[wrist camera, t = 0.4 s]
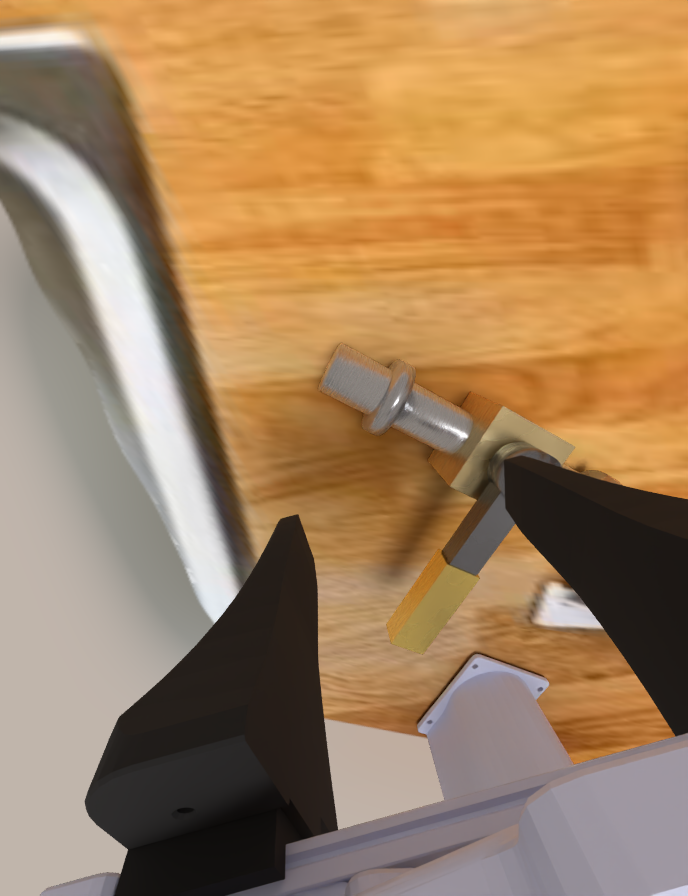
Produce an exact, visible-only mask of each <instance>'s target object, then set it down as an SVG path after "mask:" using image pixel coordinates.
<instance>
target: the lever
mask: <svg viewBox="0 0 688 896" xmlns="http://www.w3.org/2000/svg"><path fill="white" fill-rule="evenodd" d="M520 455H522V456H526V457H530V458H534V459H537V460H540V461H543V462H546V463H549V464H553V465H556V466H559V467H562V465H561V464H560V462H559V461H558V460H557V459H556V458H554V457H553V456H551V455H549V454H547V453H546V452H544V451H542V450H540V449H538V448H536V447H535V446H533V445H531V444H529V443H526V442H513V443H510V444H507V445H505V446H503V447H502V448H500V449H499V450H498V451H497V452H496V453H495V454H494V455H493V456H492V458H491V460H490V462H489V464H488V468H487V477H488V481H489V484H488V485H487V487H486V488H485V490H484V491H483V493H482V494H481V495H480V497H479V498H478V500H477V501H476V503H475V504H474V505H473V507H472V508H471V510H470V511H469V513H468V514H467V516H466V517H465V518H464V520H463V521H462V523H461V524H460V526H459V527H458V529H457V530H456V531H455V533H454V534H453V536H452V537H451V539H450V540H449V542H448V543H447V544H446V546H445V547H444V549H443V550H440V549H438V550H437V552H436V553H435V554H434V556H433V557H432V559H431V560H430V562H429V563H428V565H427V566H426V567H425V569H424V570H423V572H422V573H421V575H420V576H419V578H418V579H417V581H416V582H415V583H414V585H413V586H412V588H411V589H410V591H409V592H408V594H407V595H406V597H405V598H404V599H403V601H402V602H401V604H400V605H399V607H398V608H397V610H396V611H395V612H394V614H393V615H392V617H391V618H390V620H389V621H388V623H387V624H386V625H387V629H388V633H389V638H390V642H391V644H393V645H396V646H399V647H402V648H405V649H408V650H411V651H413V652H416V653H419V654H422V655H423V654H424V652H425V651H426V650H427V648H428V647H429V646H430V644H431V643H432V642H433V640H434V639H435V638H436V636H437V635H438V634H439V632H440V631H441V630H442V628H443V627H444V626H445V624H446V623H447V622H448V620H449V619H450V618H451V616H452V615H453V614H454V612H455V611H456V610H457V608H458V607H459V606H460V604H461V603H462V602H463V600H464V599H465V598H466V596H467V595H468V594H469V592H470V591H471V590H472V588H473V587H474V586H475V584H476V583H477V582H478V580H479V579H480V578H479V576H478V575H477V574H478V573H479V572H480V570H481V569H482V567H483V566H484V565H485V563H486V562H487V561H488V559H489V558H490V557H491V555H492V554H493V553H494V551H495V550H496V549H497V547H498V546H499V545H500V543H501V542H502V541H503V539H504V538H505V537H506V535H507V534H508V533H509V531H510V530H511V529H512V527H513V526H514V524H515V522H514V521H513V519H512V518H511V516H510V515H509V513H508V512H507V510H506V509H505V481H504V460H505V459H509V458H513V457H517V456H520Z"/></svg>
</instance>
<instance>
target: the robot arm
mask: <svg viewBox="0 0 688 896" xmlns="http://www.w3.org/2000/svg"><path fill="white" fill-rule="evenodd" d="M504 481H505V509H506V510H507V512H508V513H509V515H510V516H511V518H512V519H513V521H514V522H515V523H516V525H517V526H518V528H519V529H520V530H521V532H522V533H523V534H524V535H525V536H526V538H527V539H528V540H529V541H530V542H531V543H532V544H533V545H534V546H535V548H536V549H537V550H538V551H539V552H540V553H541V554H542V555H543V556H544V557H545V558H546V560H547V561H548V562H549V563H550V564H551V565H552V566H553V567H554V568H555V569H556V570H557V571H558V573H559V574H560V575H561V576H562V577H563V578H564V579H565V580H566V581H567V582H568V583H569V585H570V586H571V587H572V588H573V589H574V590H575V592H576V593H577V594H578V595H579V596H580V598H581V599H582V600H583V602H584V603H585V604H586V606H587V607H588V608H589V610H590V611H591V612H592V614H593V615H594V616H595V617H596V619H597V620H598V621H599V623H600V624H601V625H602V627H603V628H604V630H605V631H606V632H607V634H608V635H609V637H610V638H611V639H612V641H613V642H614V644H615V645H616V646H617V648H618V649H619V651H620V652H621V653H622V655H623V656H624V658H625V659H626V661H627V662H628V664H629V665H630V667H631V668H632V670H633V671H634V673H635V674H636V676H637V677H638V679H639V680H640V682H641V683H642V684H643V686H644V687H645V689H646V690H647V692H648V693H649V695H650V696H651V698H652V700H653V701H654V703H655V704H656V706H657V707H658V709H659V711H660V712H661V714H662V715H663V717H664V719H665V720H666V722H667V723H668V725H669V726H670V728H671V730H672V731H673V733H674V734H675V736H676V737H672V738H668V739H665V740H661V741H658V742H654V743H650V744H647V745H643V746H640V747H636V748H632V749H629V750H625V751H622V752H618V753H614V754H611V755H607V756H603V757H600V758H596V759H593V760H589V761H585V762H582V763H578V764H575V765H574V764H573V762H572V761H571V759H570V757H569V755H568V754H567V752H566V750H565V749H564V747H563V745H562V744H561V742H560V740H559V738H558V737H557V735H556V733H555V732H554V730H553V728H552V727H551V725H550V723H549V722H548V720H547V718H546V716H545V715H544V713H543V711H542V710H541V708H540V706H539V705H538V703H537V701H536V699H537V698H538V697H539V696H540V695H541V694H542V693H543V692H544V690H545V689H546V688H547V687H548V686H549V682H548V680H547V679H546V678H544V677H542V676H539V675H536V674H533V673H530V672H528V671H525V670H522V669H519V668H517V667H514V666H511V665H508V664H505V663H503V662H500V661H497V660H494V659H492V658H489V657H486V656H483V655H480V654H475V655H473V656H472V657H471V658H470V660H469V661H468V662H467V663H466V665H465V666H464V667H463V668H462V670H461V671H460V672H459V673H458V675H457V676H456V677H455V678H454V680H453V681H452V682H451V683H450V685H449V686H448V687H447V688H446V690H445V691H444V692H443V693H442V694H441V696H440V697H439V698H438V699H437V701H436V702H435V703H434V704H433V706H432V707H431V708H430V709H429V711H428V712H427V713H426V714H425V716H424V717H423V718H422V719H421V721H420V722H419V723H418V725H417V728H418V731H419V732H420V733H423V734H427V738H428V742H429V745H430V749H431V753H432V756H433V760H434V764H435V767H436V771H437V775H438V778H439V782H440V785H441V789H442V793H443V796H444V800H445V801H441V802H437V803H434V804H430V805H427V806H423V807H419V808H416V809H412V810H409V811H405V812H401V813H398V814H394V815H391V816H387V817H384V818H380V819H376V820H373V821H369V822H365V823H362V824H358V825H354V826H351V827H347V828H344V829H340V830H338V826H337V819H336V811H335V804H334V796H333V790H332V781H331V774H330V766H329V757H328V749H327V741H326V732H325V723H324V714H323V705H322V696H321V686H320V676H319V664H318V589H317V579H316V571H315V563H314V558H313V555H312V552H311V549H310V547H309V544H308V541H307V538H306V535H305V532H304V530H303V527H302V524H301V521H300V518H299V515H298V514H297V515H293V516H289V517H285V518H282V519H280V521H279V522H278V524H277V526H276V528H275V530H274V532H273V534H272V536H271V538H270V540H269V542H268V544H267V546H266V548H265V550H264V552H263V553H262V555H261V557H260V559H259V561H258V562H257V564H256V566H255V568H254V569H253V571H252V573H251V574H250V576H249V577H248V579H247V581H246V582H245V584H244V585H243V587H242V588H241V590H240V591H239V593H238V594H237V596H236V597H235V599H234V600H233V601H232V603H231V604H230V605H229V607H228V608H227V609H226V611H225V612H224V613H223V615H222V616H221V617H220V618H219V619H218V621H217V622H216V623H215V624H214V625H213V627H212V628H211V629H210V630H209V631H208V632H207V633H206V634H205V636H204V637H203V638H202V639H201V640H200V641H199V642H198V644H197V645H196V646H195V647H194V648H193V649H192V650H191V651H190V652H189V653H188V654H187V655H186V656H185V657H184V658H183V659H182V660H181V661H180V662H179V663H178V664H177V665H176V666H175V667H174V668H173V669H172V670H171V671H170V672H169V673H168V674H167V675H166V676H165V677H164V678H163V679H162V680H161V681H160V682H159V683H157V684H156V685H155V686H154V687H153V688H152V689H151V690H150V691H148V692H147V693H146V694H145V695H144V696H143V697H141V698H140V699H139V700H138V701H137V702H136V703H135V704H134V705H133V706H131V707H130V708H129V709H128V710H127V711H125V712H124V713H123V714H122V715H121V716H120V717H119V718H118V720H117V723H116V725H115V727H114V729H113V732H112V734H111V736H110V738H109V741H108V743H107V746H106V748H105V750H104V753H103V756H102V758H101V760H100V763H99V765H98V768H97V770H96V773H95V775H94V778H93V780H92V782H91V785H90V787H89V790H88V793H87V796H86V799H85V806H86V810H87V813H88V815H89V817H90V818H91V819H92V820H93V821H94V822H95V823H96V825H98V826H99V827H100V828H102V829H103V830H104V831H105V832H107V833H108V834H109V835H110V836H112V837H113V838H114V839H115V840H117V841H118V842H119V843H121V844H122V845H123V846H124V847H126V848H127V849H128V852H127V855H126V858H125V862H124V865H123V869H122V872H121V874H119V873H109V872H107V873H100V874H96V875H92V876H88V877H85V878H81V879H77V880H74V881H70V882H67V883H63V884H59V885H56V886H52V887H49V888H47V889H46V890H44V891H43V892H42V893H41V894H40V896H688V499H683V498H677V497H672V496H667V495H662V494H657V493H653V492H648V491H643V490H639V489H634V488H630V487H626V486H622V485H619V484H615V483H611V482H608V481H604V480H600V479H597V478H594V477H590V476H587V475H584V474H581V473H577V472H574V471H571V470H568V469H565V468H562V467H559V466H556V465H553V464H549V463H546V462H543V461H540V460H537V459H534V458H530V457H526V456H522V455H520V456H517V457H513V458H509V459H505V460H504Z"/></svg>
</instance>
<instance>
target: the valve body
mask: <svg viewBox="0 0 688 896" xmlns="http://www.w3.org/2000/svg"><path fill="white" fill-rule="evenodd" d="M415 375H416V371H415V368H414V367H413V366H411V365H409V364H408V363H406V362H404V361H402V360H400V359H398V360H396V361H394V362H393V363H392V364H391V365H390V366H389V367H388V368H387V367H385V366H383V365H381V364H379V363H377V362H376V361H374V360H372V359H370V358H368V357H366V356H365V355H363V354H361V353H359V352H357V351H355V350H354V349H352V348H350V347H348V346H346V345H344V344H343V343H340V344H339V346H338V347H337V349H336V350H335V352H334V354H333V356H332V358H331V360H330V362H329V363H328V366H327V368H326V370H325V372H324V374H323V376H322V379H321V381H320V384H319V386H318V390H319V391H321V392H323V393H325V394H327V395H329V396H331V397H333V398H335V399H337V400H339V401H341V402H343V403H345V404H347V405H349V406H351V407H353V408H355V409H357V410H359V411H361V412H363V413H364V414H363V418H362V428H363V429H364V430H366V431H368V432H370V433H372V434H374V435H376V436H380V435H382V434H384V433H385V432H386V431H387V430H388V429H389V428H390V427H392V428H394V429H396V430H398V431H400V432H402V433H404V434H406V435H408V436H410V437H412V438H414V439H416V440H418V441H420V442H422V443H424V444H426V445H428V446H430V447H432V448H434V450H433V452H432V454H431V455H430V457H429V458H428V461H429V462H430V464H431V465H432V466H433V467H434V468H435V470H436V471H437V472H438V473H439V474H440V476H441V477H442V478H443V479H444V480H445V482H446V483H447V484H448V485H449V486H450V487H451V488H454V489H456V490H458V491H460V492H462V493H464V494H466V495H468V496H470V497H472V498H474V499H476V500H478V498H479V497H480V495H481V494H482V493H483V491H484V490H485V488H486V487H487V485H488V484H489V481H488V477H487V468H488V464H489V462H490V460H491V458H492V456H493V455H494V454H495V453H496V452H497V451H498V450H499V449H500V448H502V447H503V446H505V445H507V444H510V443H513V442H526V443H529V444H531V445H533V446H535V447H536V448H538V449H540V450H542V451H544V452H546V453H547V454H549V455H551V456H553V457H554V458H556V459H557V460H558V461H559V462H560V464H561V465H562V468H565V469H568V470H571V471H574V472H577V471H576V470H574V469H572V468H570V467H568V466H566V465H565V464H563V463H564V462H565V461H566V459H567V458H568V457H569V455H570V454H571V452H572V451H573V450H574V448H575V446H573V445H571V444H569V443H568V442H566V441H564V440H562V439H561V438H559V437H557V436H555V435H554V434H552V433H550V432H548V431H546V430H545V429H543V428H541V427H539V426H538V425H536V424H534V423H532V422H531V421H529V420H527V419H525V418H523V417H522V416H520V415H518V414H516V413H515V412H513V411H511V410H509V409H508V408H506V407H504V406H502V405H500V404H497V403H495V402H493V401H490V400H488V399H486V398H484V397H481V396H479V395H477V394H474V393H472V392H470V393H469V394H468V396H467V398H466V399H465V401H464V402H463V404H462V406H461V407H458V406H456V405H455V404H453V403H451V402H449V401H447V400H445V399H444V398H442V397H440V396H438V395H436V394H434V393H433V392H431V391H429V390H427V389H425V388H423V387H422V386H420V385H418V384H416V383H414V381H415ZM577 473H579V472H577ZM580 473H581V474H584V475H587V476H590V477H594V478H597V479H600V480H604V481H608V482H611V483H615V484H619V485H622V484H621V483H620V482H619V481H617V480H616V479H614V478H612V477H611V476H609V475H607V474H605V473H603V472H600V471H595V470H589V471H583V472H580Z"/></svg>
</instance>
